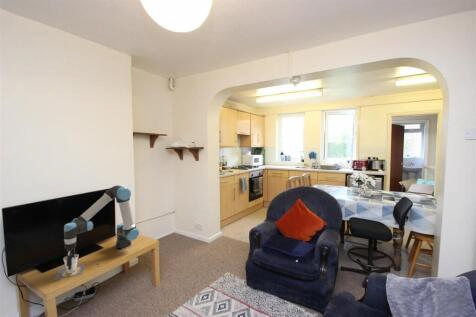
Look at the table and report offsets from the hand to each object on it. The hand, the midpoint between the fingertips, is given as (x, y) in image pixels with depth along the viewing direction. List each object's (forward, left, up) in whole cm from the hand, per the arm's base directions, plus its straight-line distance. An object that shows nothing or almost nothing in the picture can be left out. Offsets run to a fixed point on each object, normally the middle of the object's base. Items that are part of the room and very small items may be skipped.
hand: (71, 269), depth 180 cm
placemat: (+1, -1, -2) cm, 3 cm away
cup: (0, 0, 0) cm, 0 cm away
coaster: (0, 0, -2) cm, 2 cm away
